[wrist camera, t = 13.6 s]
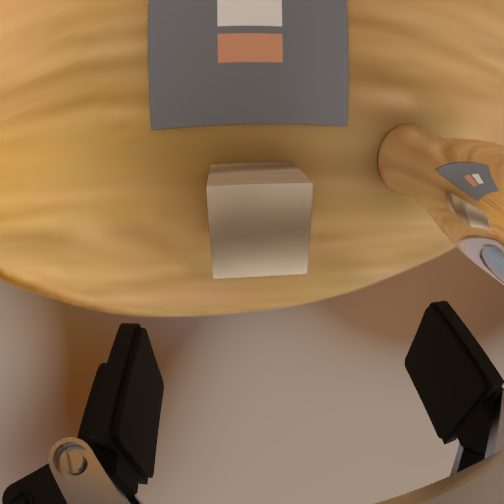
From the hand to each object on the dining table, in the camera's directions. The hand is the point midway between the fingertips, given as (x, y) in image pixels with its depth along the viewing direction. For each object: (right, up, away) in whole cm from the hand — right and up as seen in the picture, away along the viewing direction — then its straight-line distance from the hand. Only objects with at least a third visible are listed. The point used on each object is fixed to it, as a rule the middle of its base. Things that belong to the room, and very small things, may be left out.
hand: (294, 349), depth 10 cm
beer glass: (+12, +11, +13) cm, 21 cm away
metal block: (-1, +7, +14) cm, 16 cm away
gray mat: (-1, +18, +8) cm, 20 cm away
